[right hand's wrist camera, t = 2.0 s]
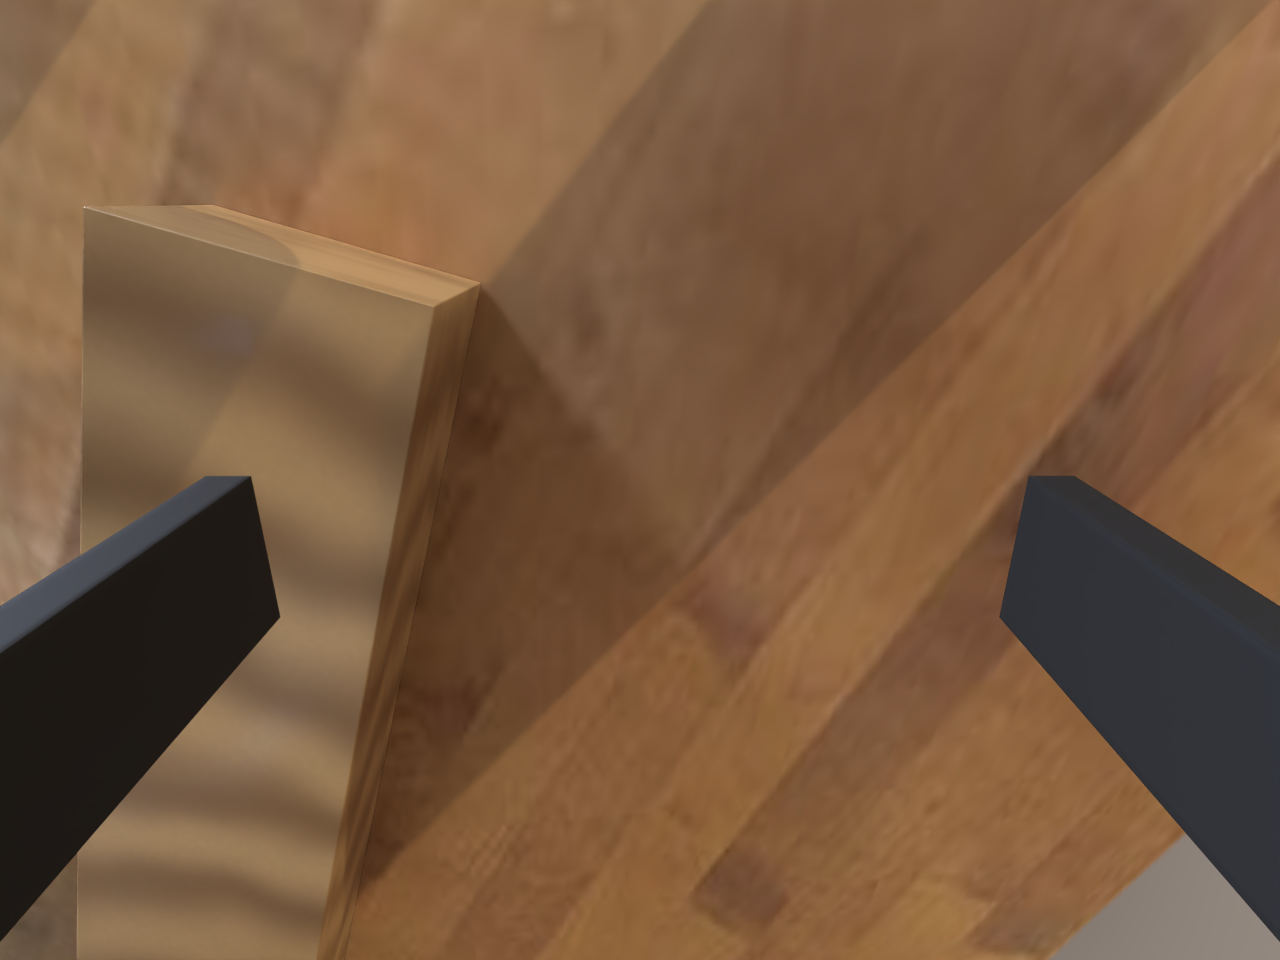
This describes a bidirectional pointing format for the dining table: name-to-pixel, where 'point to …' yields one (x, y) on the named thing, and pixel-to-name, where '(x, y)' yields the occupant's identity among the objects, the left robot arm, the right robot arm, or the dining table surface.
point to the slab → (297, 551)
